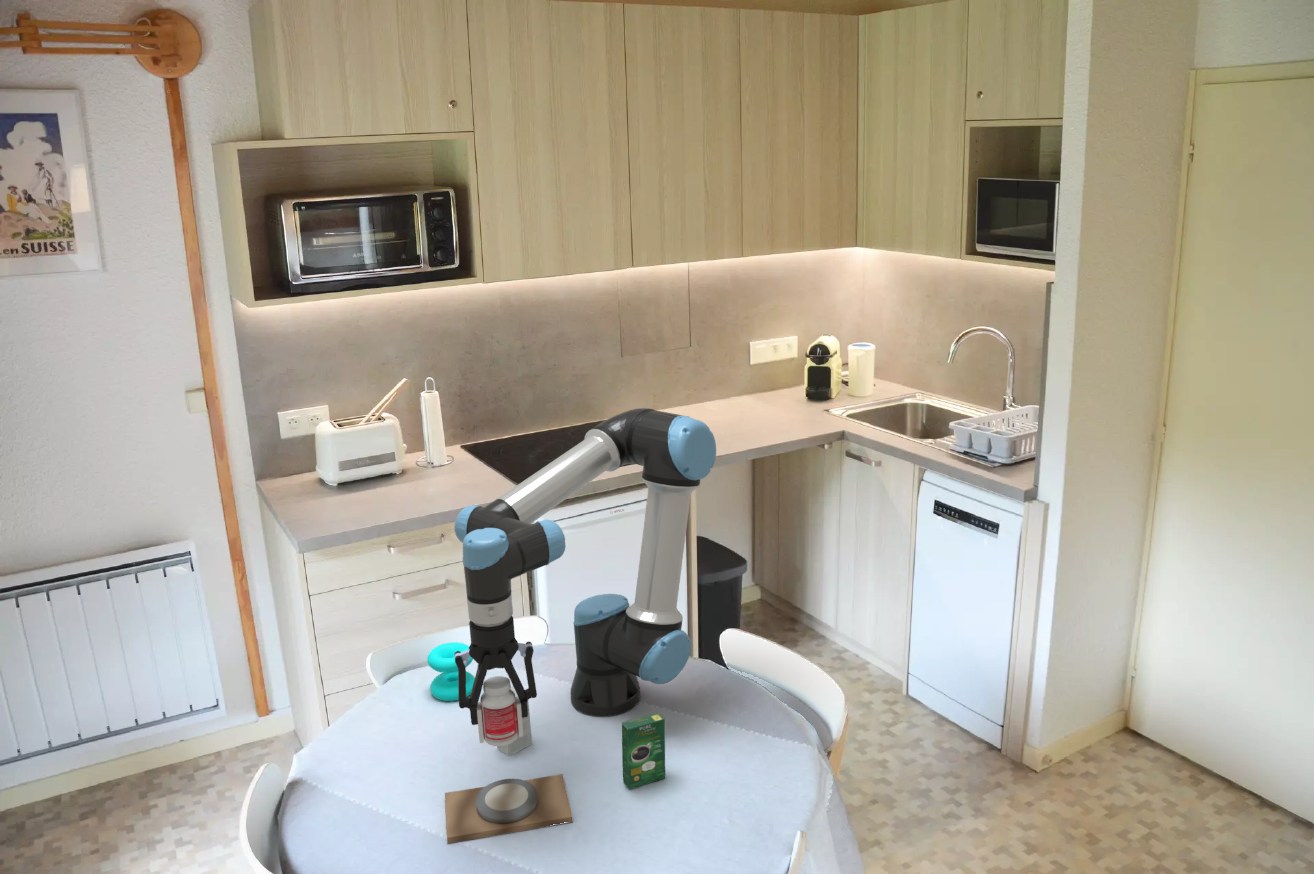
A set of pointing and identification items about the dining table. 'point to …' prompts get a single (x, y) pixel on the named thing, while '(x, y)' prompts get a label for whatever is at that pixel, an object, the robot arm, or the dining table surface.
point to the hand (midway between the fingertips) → (501, 735)
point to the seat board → (506, 808)
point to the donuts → (448, 671)
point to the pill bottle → (499, 712)
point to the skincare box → (520, 741)
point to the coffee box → (643, 750)
